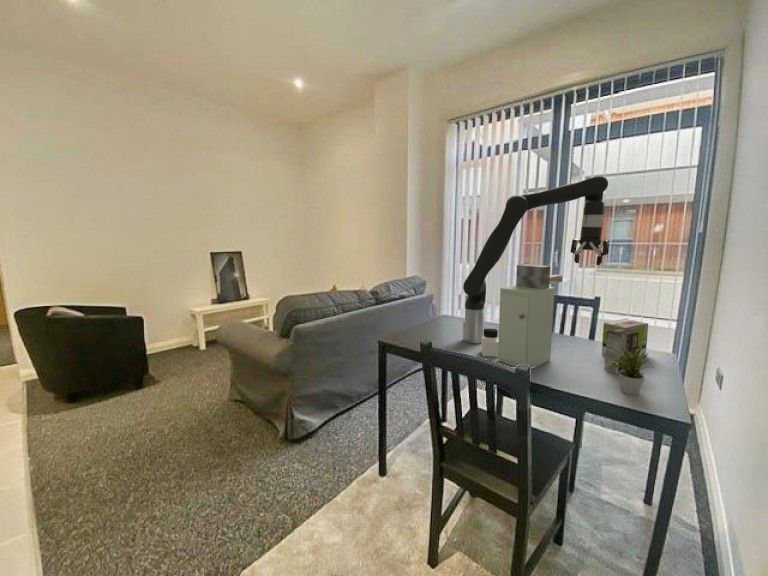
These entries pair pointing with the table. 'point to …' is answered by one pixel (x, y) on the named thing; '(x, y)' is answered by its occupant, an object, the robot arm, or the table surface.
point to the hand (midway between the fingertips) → (587, 264)
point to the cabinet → (525, 325)
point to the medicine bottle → (490, 342)
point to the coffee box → (625, 340)
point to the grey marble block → (535, 276)
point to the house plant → (631, 371)
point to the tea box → (630, 325)
